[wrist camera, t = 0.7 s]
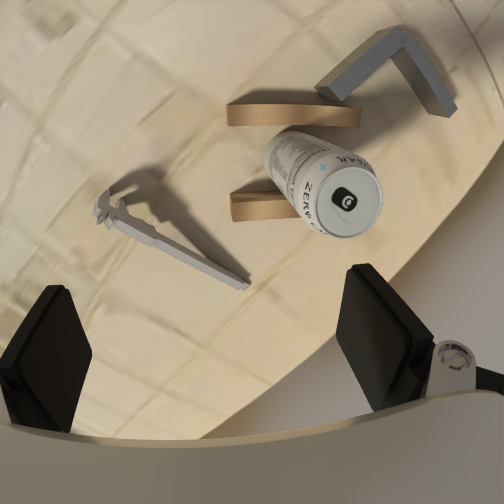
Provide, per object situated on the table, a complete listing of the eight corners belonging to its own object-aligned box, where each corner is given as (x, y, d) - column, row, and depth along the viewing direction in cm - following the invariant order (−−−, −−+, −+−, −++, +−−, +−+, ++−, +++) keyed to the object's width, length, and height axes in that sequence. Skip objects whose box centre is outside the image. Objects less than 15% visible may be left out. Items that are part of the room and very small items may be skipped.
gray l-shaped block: (436, 115, 31) (456, 119, 27) (313, 99, 29) (327, 100, 25) (437, 48, 26) (458, 47, 23) (312, 19, 24) (326, 11, 21)
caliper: (103, 195, 31) (84, 216, 25) (108, 187, 30) (89, 207, 25) (244, 288, 39) (251, 320, 33) (250, 282, 39) (258, 314, 33)
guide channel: (230, 211, 34) (232, 222, 31) (226, 104, 28) (228, 105, 25) (342, 205, 35) (352, 214, 32) (348, 107, 30) (360, 108, 27)
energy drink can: (296, 193, 34) (354, 261, 21) (250, 165, 31) (285, 219, 18) (327, 149, 32) (405, 191, 19) (282, 118, 29) (343, 137, 16)
